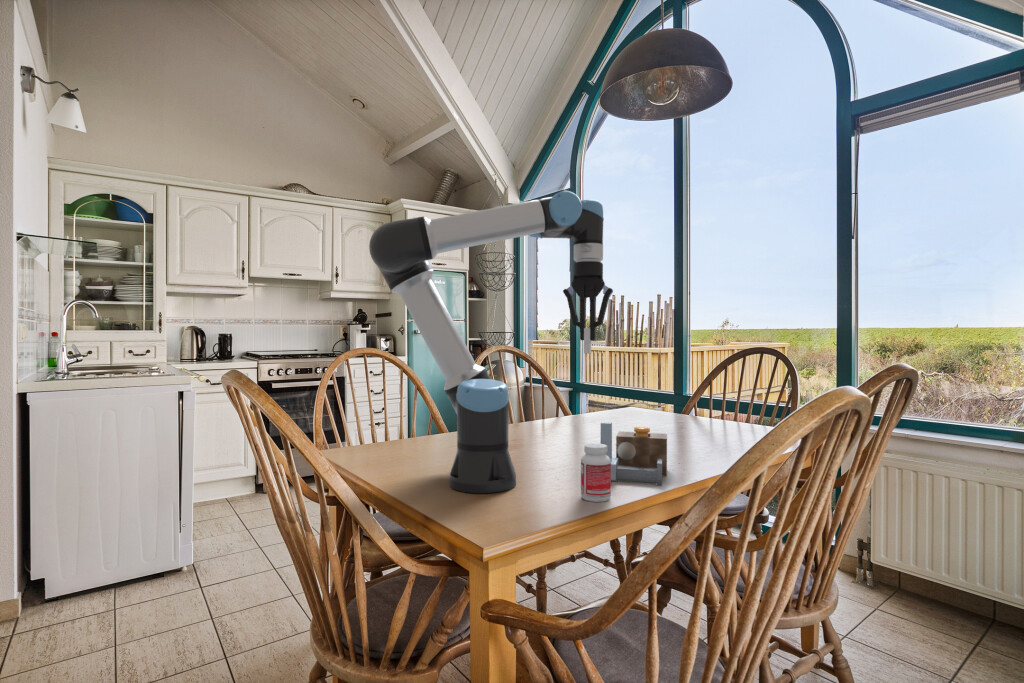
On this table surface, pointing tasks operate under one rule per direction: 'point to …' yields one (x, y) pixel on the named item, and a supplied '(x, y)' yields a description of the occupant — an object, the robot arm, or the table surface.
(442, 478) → the table surface
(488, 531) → the table surface
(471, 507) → the table surface
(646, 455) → the cabinet
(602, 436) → the carriage
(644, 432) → the peg
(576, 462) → the table surface
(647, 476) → the grey u-shaped bracket
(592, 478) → the pill bottle
